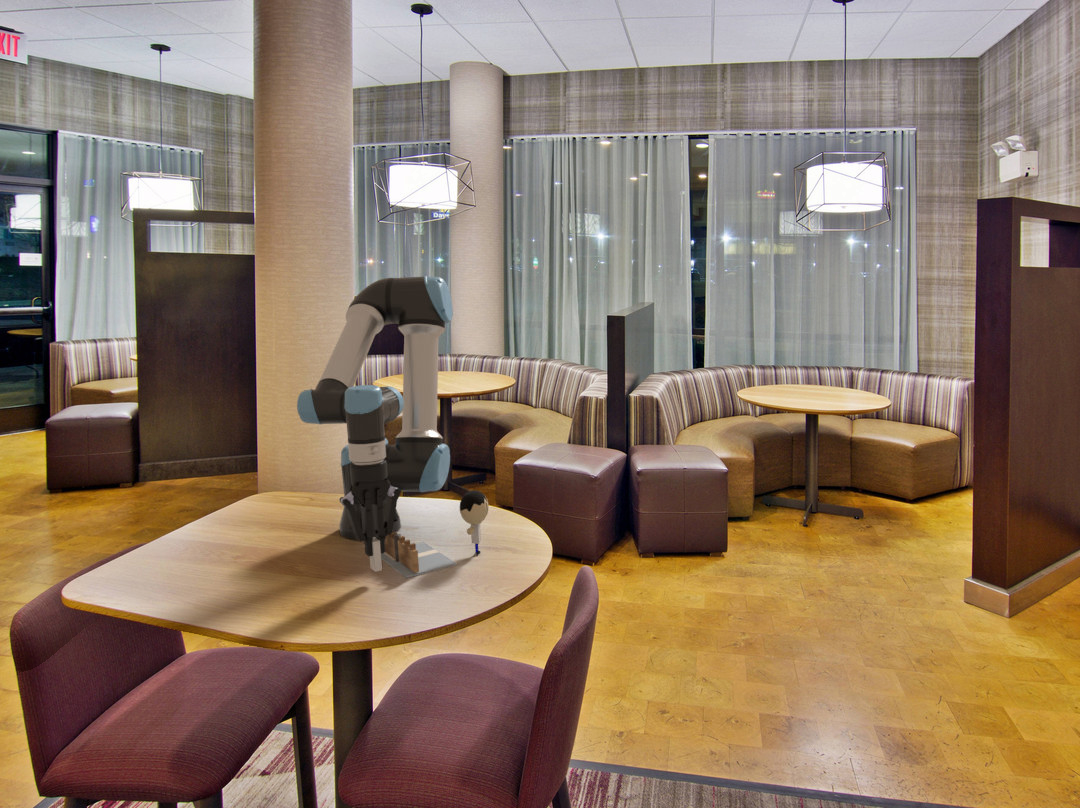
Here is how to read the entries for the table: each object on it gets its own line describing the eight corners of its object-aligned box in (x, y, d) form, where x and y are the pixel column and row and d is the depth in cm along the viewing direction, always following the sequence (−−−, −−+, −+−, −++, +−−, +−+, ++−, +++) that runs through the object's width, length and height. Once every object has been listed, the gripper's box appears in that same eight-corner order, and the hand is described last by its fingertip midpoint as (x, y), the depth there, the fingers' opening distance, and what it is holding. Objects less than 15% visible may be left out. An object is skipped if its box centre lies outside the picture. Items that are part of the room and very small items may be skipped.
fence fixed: (382, 552, 180) (380, 526, 179) (388, 551, 181) (386, 525, 179) (397, 564, 172) (395, 536, 171) (404, 562, 173) (402, 535, 172)
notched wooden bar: (398, 561, 172) (396, 535, 171) (403, 560, 173) (401, 534, 172) (414, 572, 165) (412, 546, 164) (419, 571, 166) (417, 545, 165)
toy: (485, 561, 172) (482, 497, 169) (457, 560, 173) (453, 496, 171) (495, 547, 180) (492, 486, 178) (468, 546, 182) (464, 485, 179)
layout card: (376, 555, 178) (376, 553, 178) (423, 543, 185) (423, 541, 185) (406, 578, 164) (406, 576, 164) (456, 564, 171) (456, 562, 171)
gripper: (343, 469, 152) (352, 582, 156) (404, 458, 159) (411, 567, 163) (331, 462, 158) (340, 571, 162) (390, 452, 165) (397, 556, 169)
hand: (376, 568), depth 163 cm, fingers closed
